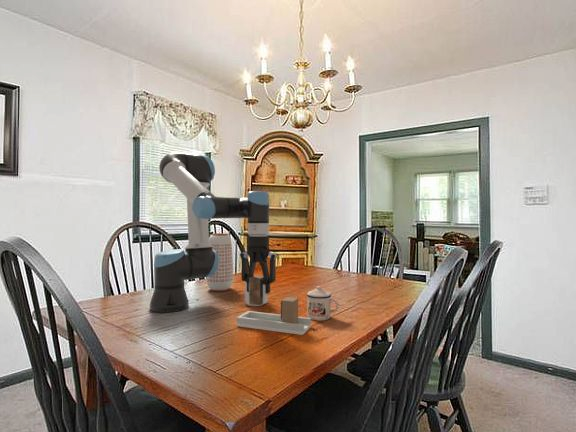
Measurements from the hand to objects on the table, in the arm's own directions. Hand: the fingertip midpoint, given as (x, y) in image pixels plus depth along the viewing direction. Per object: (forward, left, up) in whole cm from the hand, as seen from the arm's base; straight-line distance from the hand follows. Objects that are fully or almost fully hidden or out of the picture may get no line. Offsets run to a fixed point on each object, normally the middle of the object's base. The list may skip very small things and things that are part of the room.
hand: (258, 301), depth 125 cm
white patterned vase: (-42, +43, -8) cm, 61 cm away
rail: (+6, 0, -8) cm, 10 cm away
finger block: (0, 0, 0) cm, 0 cm away
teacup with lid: (+19, +16, -8) cm, 26 cm away
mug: (-13, +26, -8) cm, 30 cm away
